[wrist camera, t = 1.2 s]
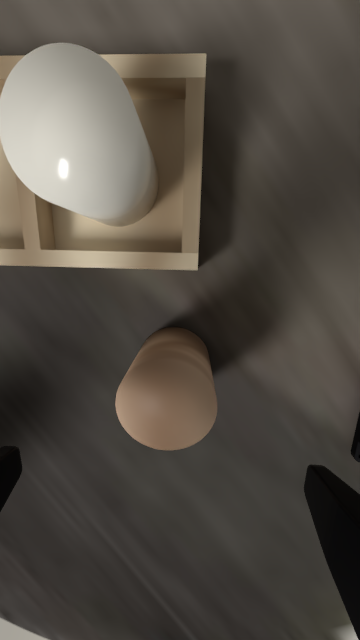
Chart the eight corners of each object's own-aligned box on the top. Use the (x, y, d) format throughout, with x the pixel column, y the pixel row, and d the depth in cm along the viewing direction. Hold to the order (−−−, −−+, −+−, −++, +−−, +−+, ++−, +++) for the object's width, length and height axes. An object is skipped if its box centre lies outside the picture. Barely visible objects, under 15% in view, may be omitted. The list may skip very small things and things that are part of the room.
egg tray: (204, 87, 12) (206, 53, 10) (197, 268, 14) (197, 270, 12) (-117, 89, 12) (-175, 57, 11) (-78, 261, 15) (-120, 262, 13)
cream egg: (159, 131, 12) (135, 41, 7) (158, 227, 13) (138, 208, 8) (70, 131, 12) (-13, 43, 7) (77, 226, 13) (9, 206, 8)
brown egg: (211, 328, 15) (220, 361, 10) (207, 393, 16) (214, 452, 11) (138, 325, 15) (113, 357, 10) (140, 390, 16) (117, 447, 11)
